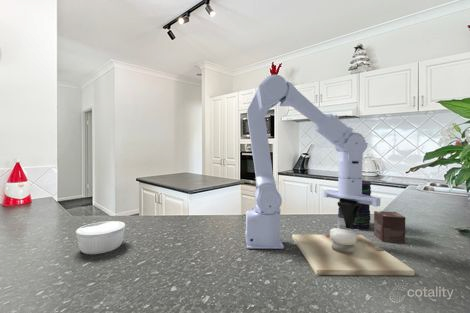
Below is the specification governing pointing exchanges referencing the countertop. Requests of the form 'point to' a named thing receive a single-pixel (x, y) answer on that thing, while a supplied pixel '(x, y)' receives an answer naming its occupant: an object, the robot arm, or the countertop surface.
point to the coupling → (343, 234)
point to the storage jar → (361, 210)
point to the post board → (348, 257)
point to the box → (389, 226)
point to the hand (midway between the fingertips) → (349, 227)
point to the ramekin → (100, 237)
